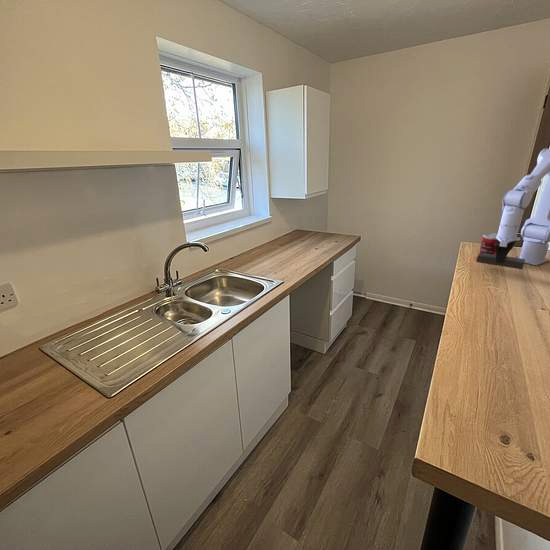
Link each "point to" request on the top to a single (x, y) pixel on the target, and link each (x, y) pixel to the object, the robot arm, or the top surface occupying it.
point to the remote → (507, 262)
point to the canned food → (488, 243)
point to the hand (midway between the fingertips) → (500, 260)
